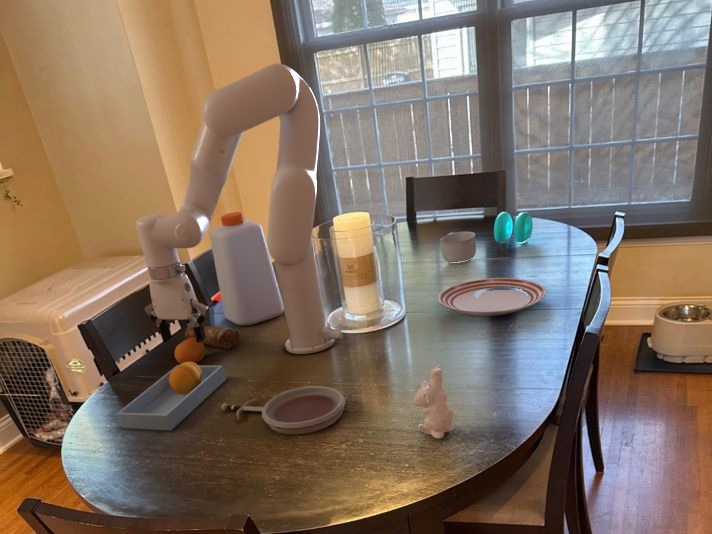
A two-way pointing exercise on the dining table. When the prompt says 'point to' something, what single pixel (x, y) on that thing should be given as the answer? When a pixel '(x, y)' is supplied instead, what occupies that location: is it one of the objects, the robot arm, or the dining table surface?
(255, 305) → the plastic bottle
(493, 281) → the dinner plate
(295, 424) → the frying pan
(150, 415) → the baking pan
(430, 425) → the pink rabbit figurine
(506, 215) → the teal twin oval discs
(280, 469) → the dining table surface
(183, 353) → the mango
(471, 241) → the teacup
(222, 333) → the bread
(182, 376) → the mango
